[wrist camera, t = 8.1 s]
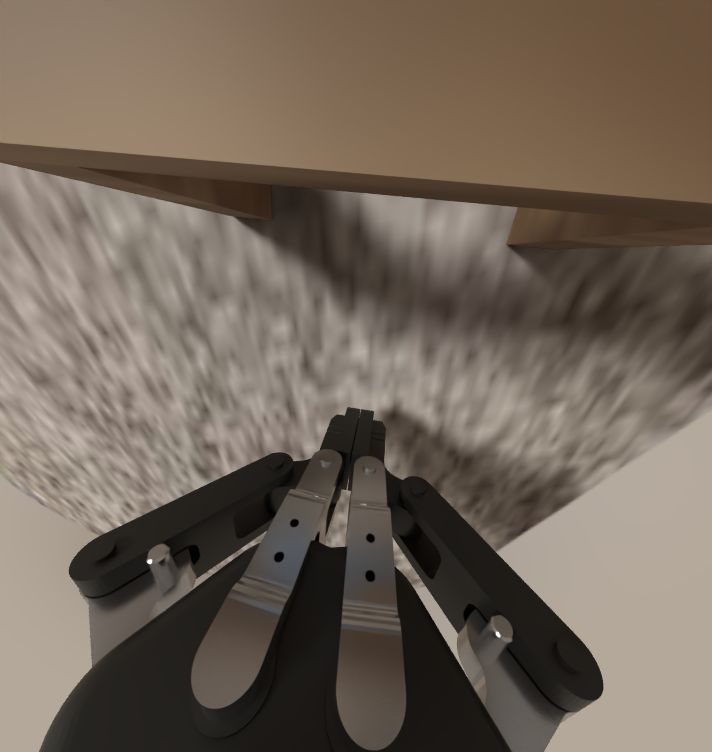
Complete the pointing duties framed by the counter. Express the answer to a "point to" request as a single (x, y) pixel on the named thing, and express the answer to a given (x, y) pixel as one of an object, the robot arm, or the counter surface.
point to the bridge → (377, 106)
